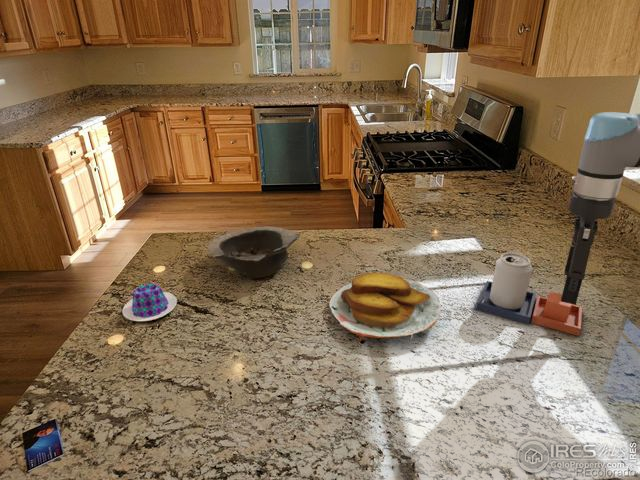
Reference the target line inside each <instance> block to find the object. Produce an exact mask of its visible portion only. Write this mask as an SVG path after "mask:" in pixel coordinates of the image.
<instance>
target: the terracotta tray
mask: <svg viewBox="0 0 640 480" xmlns="http://www.w3.org/2000/svg"><path fill="white" fill-rule="evenodd" d="M546 301H547V297H545V296H541V295H537V297H536V300H535V303H534V304H535V305H534V307H533V308H534V309H533V311H532V312H533V313H532V317H531V321H530V322H531V324H534V325H538V326H542V327H545V328H549V329H553V330H557V331H560V332H563V333H567V334H570V335H574V336H577V337H579V336H580V333H581V330H582V318H583V306H579V305H577V304H576V305H574V304H571V310H570V313H569V316H568V320H567V323H563V322H559V321H556V320H552V319H548V318H545V317H543V314H544V309H545V305H546Z"/></svg>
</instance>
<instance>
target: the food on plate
mask: <svg viewBox="0 0 640 480" xmlns="http://www.w3.org/2000/svg"><path fill="white" fill-rule="evenodd" d="M328 307H329V308H330V310H331V313H332V314H333V316H334V317H335V318H336V320H338V322H339V323H338V324H339V325H340V326H341V327H342V328H344V329H346V330H347V331H350V333H351V334H355V335H356V336H357V340H358V341H360V342H361V341H363V337H366V338H375V339H384V338H387V339H389V338H391V337H392V338H399V337H407V336H410V340H412V339H413V337H414V334H417V333H420V332H424V331H425V332H426V330H427V329H433V327H434V326H435V325H436V324H437V322H438V320H439V318H440V317H441V313H442V312H443V310H442V303H441V301H440V298H439V296H437V294H436V293H434V292H433V290H431V289H429V288H428V287H427V286H425V285H424V284H423V285H422V283H419V282H417V281H414V280H411V279H408V278H404V277H402V276H398V275H396V274H391V273H388V272H375V271H374V272H366V273H361V274H359V275H356V276H354V278H352V280H351V282H350V283H348V284H345V285H344V286H341V287H340V288H339V289H338V290H337V291H336V292H335V293H334V294H333V295H331V298H330V299H329V301H328ZM334 308H335V309H334ZM331 323H332V324H334V322H333V321H331Z"/></svg>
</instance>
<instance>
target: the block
mask: <svg viewBox="0 0 640 480" xmlns="http://www.w3.org/2000/svg"><path fill="white" fill-rule="evenodd" d="M561 297H562V293H558V292H553V291H548V294H547V297H546V298H547V301H546V305H545V309H544V314H543V317H545V318H548V319H552V320H556V321H559V322H563V323H567V320H568V316H569V313H570V310H571V304H570V303H565V302H561Z"/></svg>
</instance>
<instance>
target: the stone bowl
mask: <svg viewBox="0 0 640 480" xmlns="http://www.w3.org/2000/svg"><path fill="white" fill-rule="evenodd" d="M300 236H301V233H300V232H299V233H297V232H296V233H294V231H293V230H290V229H286V228H282V227H277V226H266V225H264V226H255V227H253V226H252V227H247V228H243V229H238V230H237V229H236V230H233V231H228V232H227V233H225V234H221V235H219V236H216V237H215V238H213V239H212V240H211V241H210V242H209V243H208V244H207V245H206V250H207V252H208V253H209V254H210V255H211V256H212V257H213V258H217V259H221V261H222V262H223V263H224V264H225V265H226V266H227V267H229V268H230V269H233V270H234V271H236V272H237V273H240V274H245V277H246V278H247V280H256V279H262V278H267V277H269V276H271V275H272V274H276V273H278V272H279V271H280V270H282V267H283V264H284V263H286V261H287V259H288V251H287V249H288V248H289V247H291V245H292V244H294V243H295V242H297V240H298V239H299V238H300Z"/></svg>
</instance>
